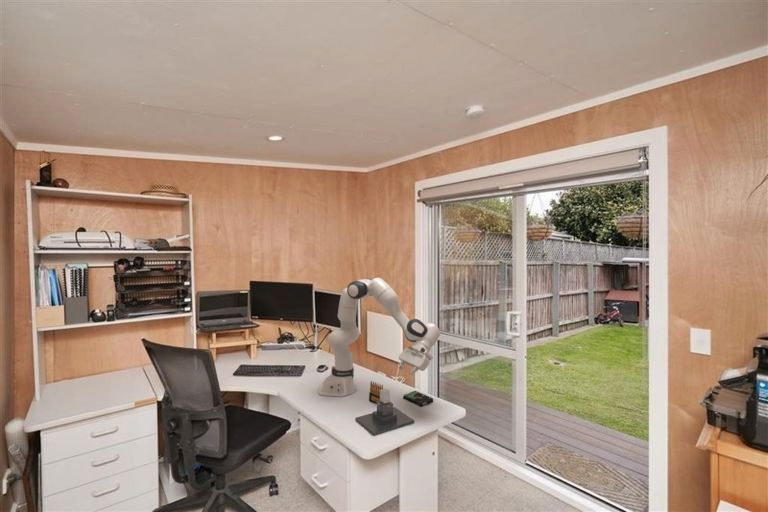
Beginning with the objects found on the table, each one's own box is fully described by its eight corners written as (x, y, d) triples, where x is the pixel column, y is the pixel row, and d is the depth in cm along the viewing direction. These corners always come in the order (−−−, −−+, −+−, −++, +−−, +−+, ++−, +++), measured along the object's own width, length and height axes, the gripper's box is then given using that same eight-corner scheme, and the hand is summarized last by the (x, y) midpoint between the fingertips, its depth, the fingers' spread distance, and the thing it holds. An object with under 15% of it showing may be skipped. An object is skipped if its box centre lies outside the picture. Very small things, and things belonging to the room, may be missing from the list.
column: (383, 420, 187) (383, 392, 187) (379, 418, 190) (379, 389, 190) (389, 419, 189) (389, 390, 189) (385, 416, 192) (386, 388, 192)
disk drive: (433, 403, 214) (414, 394, 225) (433, 398, 214) (415, 390, 225) (421, 408, 207) (402, 399, 218) (421, 403, 207) (402, 394, 218)
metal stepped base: (373, 436, 176) (373, 414, 175) (355, 420, 191) (355, 401, 190) (414, 423, 188) (414, 403, 188) (394, 409, 204) (394, 391, 203)
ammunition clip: (368, 401, 215) (369, 380, 214) (371, 400, 216) (371, 379, 215) (382, 406, 207) (382, 385, 207) (384, 405, 209) (384, 384, 208)
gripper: (405, 342, 208) (390, 362, 203) (428, 351, 191) (412, 374, 186) (411, 349, 210) (397, 369, 206) (435, 358, 193) (420, 381, 188)
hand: (404, 371), depth 195 cm, fingers open, 8 cm apart
